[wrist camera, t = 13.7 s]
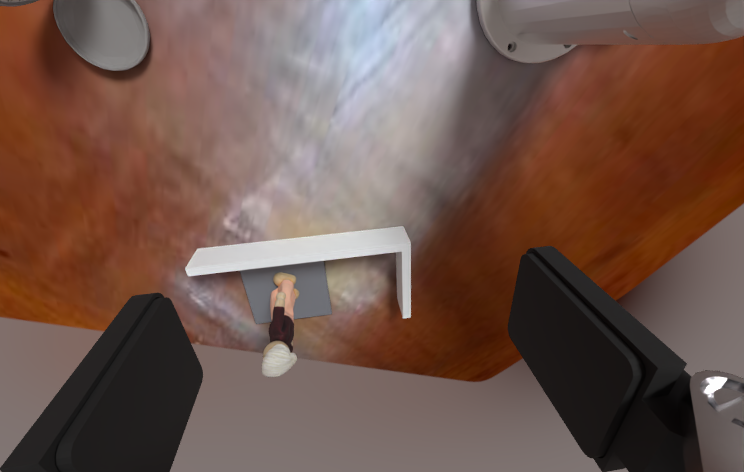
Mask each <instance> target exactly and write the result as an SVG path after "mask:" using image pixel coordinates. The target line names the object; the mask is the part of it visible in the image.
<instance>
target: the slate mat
mask: <svg viewBox="0 0 744 472" xmlns="http://www.w3.org/2000/svg"><path fill="white" fill-rule="evenodd" d="M279 272H282V273H287V274H291V275H294V276H295V277H296V283H295V284H294V288H295V289H297V290H298V291H299V297H298V298H297V299H295V303H294V307H293V312H294V318H293V319H298V318H306V317H314V316H322V315H329V314H332V311H331V304H330V298H329V291H328V285H327V278H326V272H325V265H324V261H316V262H307V263H299V264H290V265H282V266H273V267H265V268H256V269H247V270H240V273H241V277H242V280H243V283H244V286H245V290H246V293H247V296H248V299H249V303H250V306H251V309H252V312H253V316H254V319H255V322H256V324H260V323H267V322H272V320H271V310H270V298H271V293H272V291H273V290H275V289H277V288H278V286H277V285H276V284H275V283H274V281H273V277H274V275H275V274H276V273H279Z"/></svg>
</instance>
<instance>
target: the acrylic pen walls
mask: <svg viewBox="0 0 744 472" xmlns="http://www.w3.org/2000/svg"><path fill="white" fill-rule="evenodd" d="M393 252H396V277H397V300H398V303H399V306H400V310H401V313H402V317H403V319H404V318H411V242H410V240H409V238H408V235H407V233H406V231H405V229H404V226H399V227H390V228H381V229H372V230H363V231H354V232H345V233H335V234H326V235H317V236H308V237H299V238H290V239H281V240H272V241H263V242H254V243H245V244H236V245H227V246H218V247H209V248H200V249H197V250H196V252H195V253H194V255H193V257H192V258H191V260H190V261H189V263H188V265H187V266H186V268H185V270H186V272H187V275H188V276H196V275H204V274H213V273H222V272H230V271H239V270H247V269H256V268H265V267H273V266H282V265H290V264H299V263H307V262H316V261H325V260H333V259H342V258H350V257H359V256H367V255H376V254H385V253H393Z"/></svg>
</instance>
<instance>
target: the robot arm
mask: <svg viewBox="0 0 744 472" xmlns="http://www.w3.org/2000/svg"><path fill="white" fill-rule="evenodd" d="M476 2H477V12H478V16H479V21H480V24H481V27H482V29H483V32H484V34H485V36H486V38H487V39H488V41H489V42H490V44H491V45H492V46H493V47H494V48H495V49H496V50H497V51H498V52H499V53H500V54H502V55H503V56H505V57H507V58H509V59H511V60H514V61H518V62H522V63H542V62H546V61H550V60H553V59H556V58H558V57H560V56H562V55H564V54H566V53H567V52H569V51H570V50H572V49H573V48H574V47H576V46H577V45H682V44H706V43H716V42H722V41H727V40H731V39H735V38H739V37H742V36H744V0H476ZM508 44H509V45H510V48H509V49H508ZM508 332H509V336H510V338H511V340H512V341H513V343H514V344H515V346H516V348H517V349H518V351H519V352H520V354H521V355H522V357H523V359H524V360H525V362H526V363H527V365H528V366H529V368H530V369H531V371H532V373H533V374H534V376H535V377H536V379H537V381H538V382H539V384H540V385H541V387H542V388H543V390H544V392H545V393H546V395H547V396H548V398H549V399H550V401H551V402H552V404H553V406H554V407H555V409H556V410H557V412H558V413H559V415H560V417H561V418H562V420H563V421H564V423H565V424H566V426H567V428H568V429H569V431H570V432H571V434H572V435H573V437H574V439H575V440H576V442H577V443H578V445H579V446H580V448H581V449H582V451H583V452H584V453H585V454H586V455H587V456H588V457H590V458H593V459H594V460H595V462H596V463H597V465H598V466H599V468H600V469H601V471H602V472H607V471H613V470H618V469H623V468H627V470H628V471H629V472H744V378H741V377H738V376H736V375H733V374H729V373H725V372H720V371H710V370H705V371H701V372H697V373H695V374H694V375H693V376H692V377H691V376H690V375H689V374H688V373H687V372H686V371H684V368H685V366H686V364H687V363H686V362H684V361H683V360H682V359H681V358H680V357H679V356H677V355H676V354H675V353H674V352H673V351H672V350H671V349H670V348H668V347H667V346H666V345H665V344H664V343H663V342H662V341H660V340H659V339H658V338H657V337H656V336H655V335H654V334H652V333H651V332H650V331H649V330H648V329H647V328H646V327H645V326H643V325H642V324H641V323H640V322H639V321H638V320H637V319H635V318H634V317H633V316H632V315H631V314H630V313H628V312H627V311H626V310H625V309H624V308H623V307H622V306H621V305H619V304H618V303H617V302H616V301H615V300H614V299H613V298H611V297H610V296H609V295H608V294H607V293H606V292H605V291H603V290H602V289H601V288H600V287H599V286H598V285H597V284H595V283H594V282H593V281H592V280H591V279H590V278H589V277H587V276H586V275H585V274H584V273H583V272H582V271H581V270H579V269H578V268H577V267H576V266H575V265H574V264H573V263H572V262H570V261H569V260H568V259H567V258H566V257H565V256H564V255H562V254H561V253H560V252H559V251H558V250H557V249H556V248H554V247H552V246H545V247H537V248H530V249H528V251H527V252H526V254H524V255H522V257H521V260H520V265H519V270H518V276H517V281H516V286H515V291H514V296H513V302H512V307H511V312H510V317H509V322H508ZM202 378H203V371H202V367H201V365H200V363H199V361H198V358H197V356H196V354H195V352H194V349H193V347H192V345H191V343H190V341H189V338H188V336H187V334H186V332H185V330H184V327H183V325H182V323H181V321H180V319H179V316H178V314H177V312H176V310H175V308H174V305H173V303H172V301H171V300H170V299H169V298H167V297H166V298H164V296H163V295H162V294H161V293H151V294H143V295H135V296H132V297H131V298H130V299H129V300H128V302H127V303H126V304H125V305H124V307H123V308H122V309H121V311H120V312H119V313H118V315H117V316H116V317H115V319H114V320H113V321H112V322H111V324H110V325H109V326H108V328H107V329H106V330H105V332H104V333H103V334H102V336H101V337H100V338H99V339H98V341H97V342H96V343H95V345H94V346H93V347H92V349H91V350H90V351H89V353H88V354H87V355H86V356H85V358H84V359H83V360H82V362H81V363H80V364H79V366H78V367H77V368H76V370H75V371H74V372H73V374H72V375H71V376H70V378H69V379H68V380H67V381H66V383H65V384H64V385H63V387H62V388H61V389H60V390H59V392H58V393H57V394H56V396H55V397H54V398H53V400H52V401H51V402H50V404H49V405H48V406H47V407H46V409H45V410H44V412H43V413H42V414H41V415H40V417H39V418H38V419H37V421H36V422H35V423H34V424H33V426H32V427H31V428H30V430H29V431H28V432H27V434H26V435H25V436H24V438H23V439H22V440H21V442H20V443H19V444H18V446H17V447H16V448H15V449H14V451H13V452H12V453H11V455H10V456H9V457H8V459H7V460H6V461H5V463H4V464H3V465H2V466H1V468H0V470H1V471H2V472H170V469H171V466H172V464H173V461H174V458H175V455H176V453H177V450H178V447H179V444H180V441H181V439H182V436H183V433H184V430H185V427H186V425H187V422H188V419H189V416H190V414H191V411H192V408H193V405H194V403H195V400H196V397H197V394H198V392H199V389H200V386H201V383H202Z"/></svg>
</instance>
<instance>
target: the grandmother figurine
mask: <svg viewBox="0 0 744 472" xmlns="http://www.w3.org/2000/svg"><path fill="white" fill-rule="evenodd" d="M273 281H274V283H275V284H276V285H277V286H278V288H277V289H275V290H273V291H272V293H271V298H270V310H271V320H272V322H271V324H270V327H269V335H270V343H269V344H268V345H267V346H266V348H265V349H264V352H263V362H262V374H263V375H265V376H267V377H277V376H281V375H282V374H284V373H286V372H287V371H288V370H289V369H290V368H291V367H292V366H293V365H294V364H295V362H296V361H297V356H296V354H295V353H291V352H292V350H293V341H292V340H293V336H294V323H293V318H294V312H293V307H294V303H295V299H297V298H298V297H299V291H298V290H297V289H295V288H294V284H295V283H296V277H295V276H294V275H291V274H287V273H282V272H279V273H276V274H275V275H274V277H273Z"/></svg>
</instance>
